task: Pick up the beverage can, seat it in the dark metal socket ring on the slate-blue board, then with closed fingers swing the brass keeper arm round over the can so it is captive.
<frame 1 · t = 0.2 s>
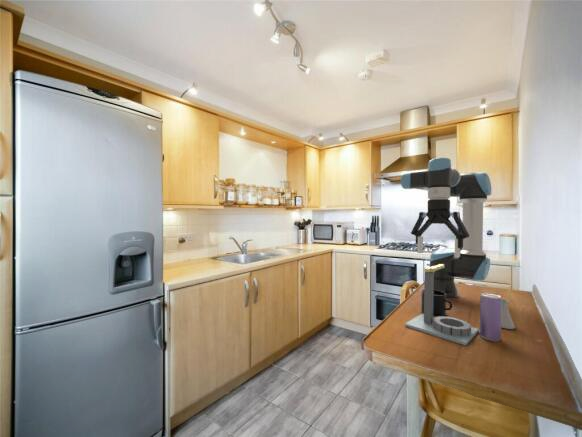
hand: (437, 254, 101), 28 cm above the table, fingers open, 13 cm apart
keeper: (435, 268, 106), point 21 cm above the table, hinge at 90.0°
flask: (503, 326, 103), on the table
beverage can: (490, 338, 92), on the table
mug: (436, 314, 115), on the table
seat board: (441, 328, 99), on the table
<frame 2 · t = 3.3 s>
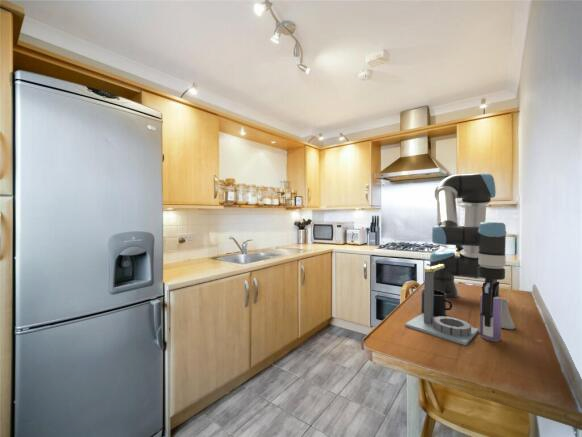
hand: (490, 332, 92), 2 cm above the table, fingers closed on beverage can, 6 cm apart
beverage can: (490, 338, 92), on the table, touching gripper
everything else where it was.
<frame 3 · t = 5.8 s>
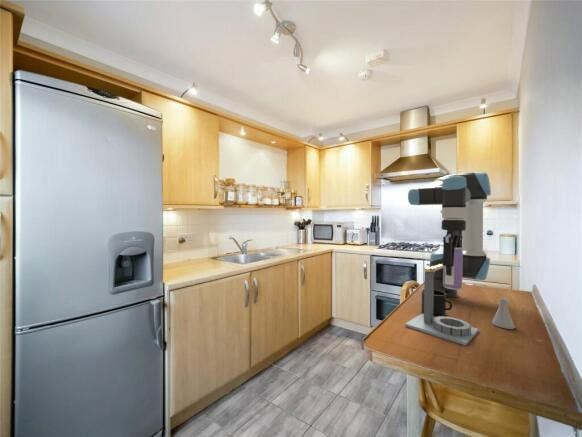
hand: (452, 282, 96), 18 cm above the table, fingers closed on beverage can, 6 cm apart
beverage can: (452, 288, 96), point 16 cm above the table, touching gripper
everything else where it was.
when the fingers open (4 cm above the table, at t = 8.5 s): beverage can drops 1 cm, resting on seat board.
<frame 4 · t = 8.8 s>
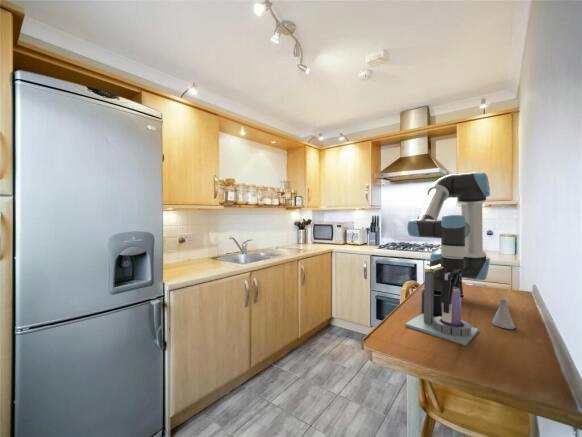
hand: (451, 317, 96), 5 cm above the table, fingers open, 10 cm apart
beverage can: (451, 329, 96), point 1 cm above the table, touching seat board
everything else where it was.
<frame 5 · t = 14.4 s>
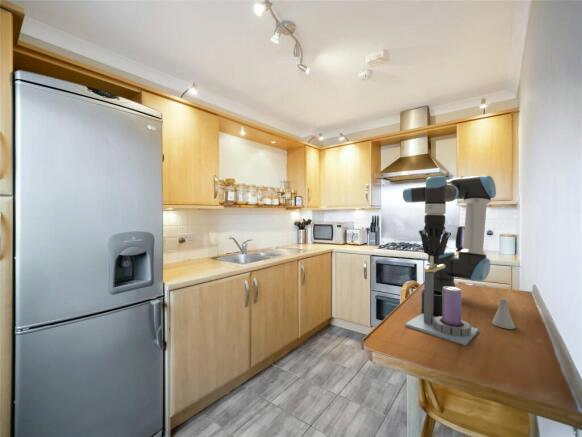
hand: (433, 271, 109), 20 cm above the table, fingers closed
keeper: (435, 268, 106), point 21 cm above the table, hinge at 88.6°, touching gripper
everything else where it was.
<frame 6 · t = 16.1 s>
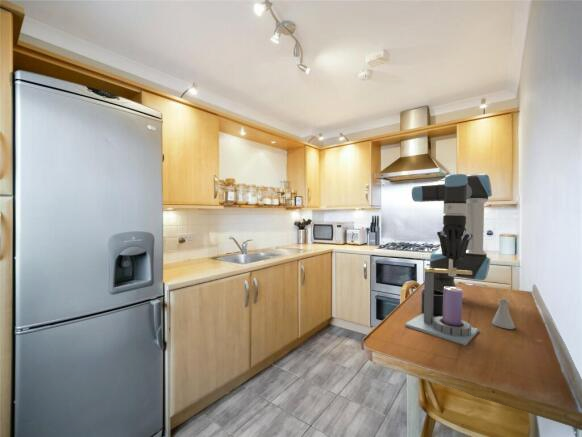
hand: (452, 275, 102), 19 cm above the table, fingers closed
keeper: (447, 271, 100), point 21 cm above the table, hinge at 31.8°, touching gripper
everything else where it was.
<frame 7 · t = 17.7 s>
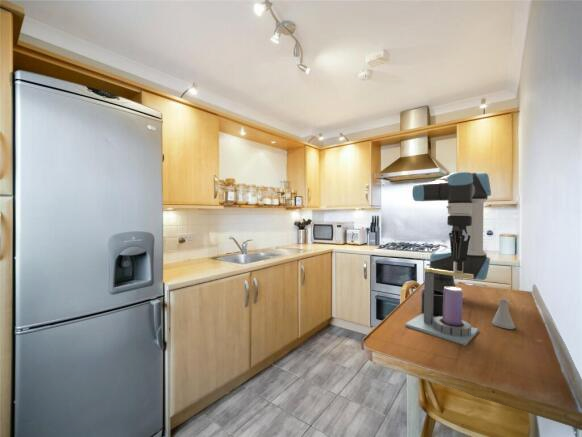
hand: (458, 279, 97), 19 cm above the table, fingers closed
keeper: (447, 272, 98), point 21 cm above the table, hinge at 0.8°, touching gripper
everything else where it was.
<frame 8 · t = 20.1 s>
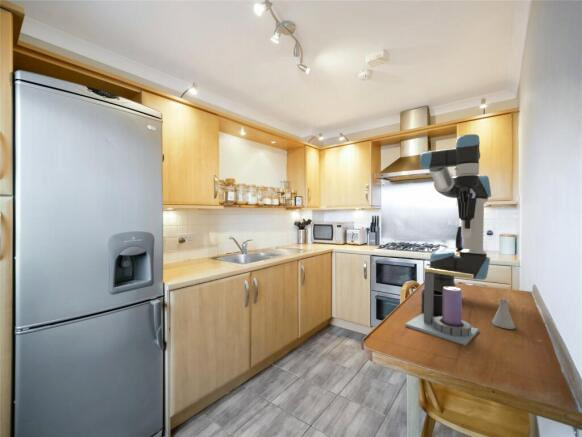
hand: (465, 237, 102), 34 cm above the table, fingers closed
keeper: (447, 272, 98), point 21 cm above the table, hinge at 0.8°
everything else where it was.
at the end: beverage can 0.1 cm from the target spot, point 0.8 cm above the table; beverage can tilted 0°; keeper at +1° (first picture: +90°) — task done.
